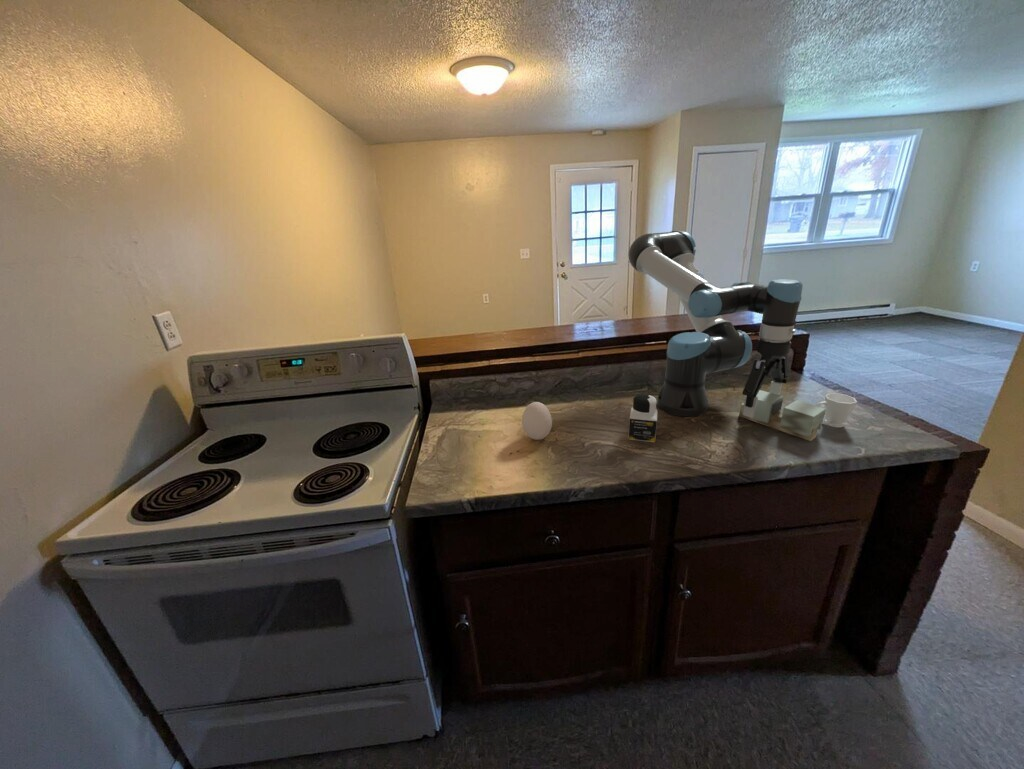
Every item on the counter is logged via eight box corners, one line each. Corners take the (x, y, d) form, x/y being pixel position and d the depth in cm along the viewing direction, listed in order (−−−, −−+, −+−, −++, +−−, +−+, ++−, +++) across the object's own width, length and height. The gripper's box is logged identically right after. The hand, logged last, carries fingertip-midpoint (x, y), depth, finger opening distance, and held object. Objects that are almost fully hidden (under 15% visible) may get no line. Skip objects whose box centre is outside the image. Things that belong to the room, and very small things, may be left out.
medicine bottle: (628, 439, 112) (630, 401, 107) (630, 427, 118) (632, 390, 113) (655, 443, 109) (658, 403, 104) (655, 430, 115) (659, 393, 111)
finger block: (742, 414, 117) (745, 395, 114) (754, 407, 120) (757, 389, 118) (768, 423, 111) (772, 404, 109) (780, 415, 114) (785, 397, 112)
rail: (735, 418, 119) (739, 393, 116) (747, 411, 122) (752, 387, 119) (807, 443, 104) (814, 416, 101) (818, 435, 107) (826, 408, 104)
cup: (856, 429, 109) (864, 403, 106) (817, 430, 110) (825, 404, 106) (837, 417, 115) (845, 392, 112) (802, 418, 116) (808, 393, 113)
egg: (518, 443, 113) (516, 407, 109) (528, 429, 121) (526, 395, 116) (547, 447, 110) (546, 411, 106) (555, 432, 118) (555, 397, 113)
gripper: (765, 352, 98) (751, 427, 106) (811, 332, 110) (795, 401, 118) (735, 345, 104) (724, 417, 112) (782, 327, 116) (768, 393, 124)
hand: (760, 409), depth 115 cm, fingers open, 13 cm apart
